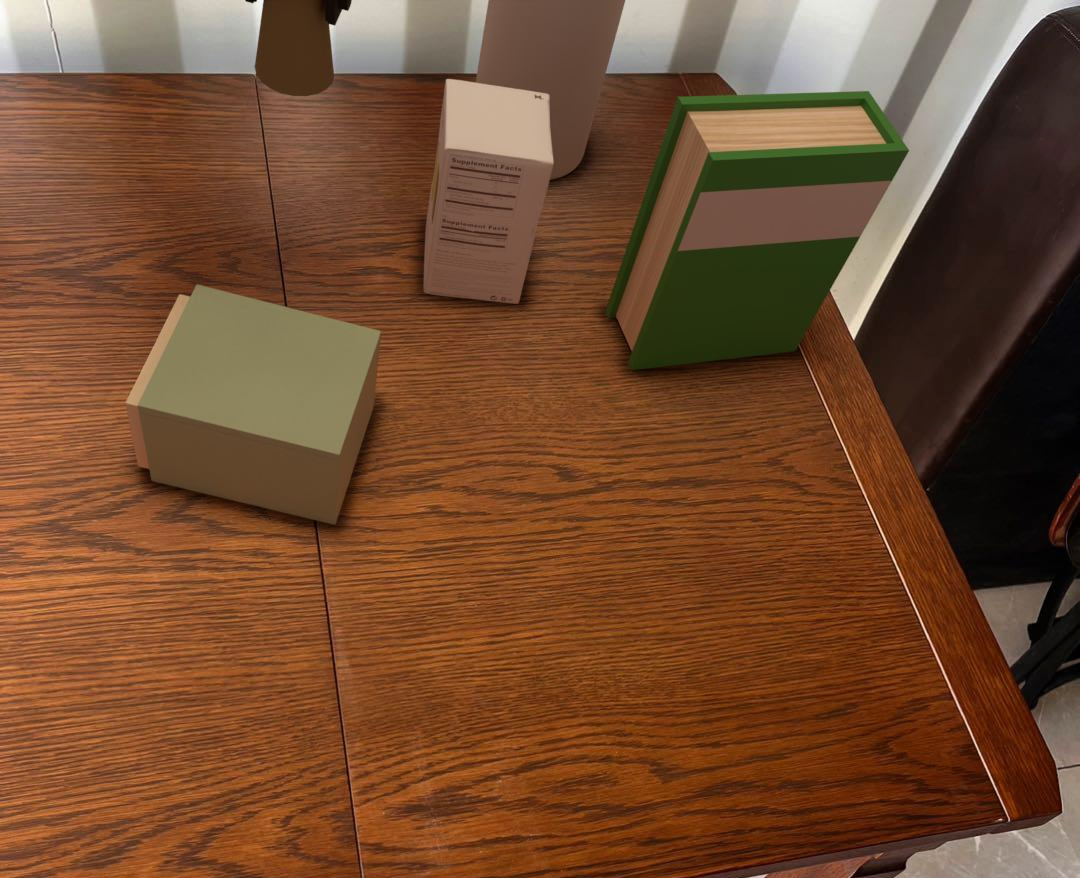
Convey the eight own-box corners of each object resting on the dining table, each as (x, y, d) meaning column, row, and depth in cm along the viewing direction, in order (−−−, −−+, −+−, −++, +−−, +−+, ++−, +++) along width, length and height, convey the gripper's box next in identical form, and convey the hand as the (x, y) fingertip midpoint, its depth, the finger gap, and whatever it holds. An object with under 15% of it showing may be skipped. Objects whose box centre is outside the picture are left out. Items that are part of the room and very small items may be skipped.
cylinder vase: (481, 185, 111) (524, -56, 90) (456, 106, 117) (491, -137, 96) (596, 184, 114) (663, -49, 94) (566, 107, 120) (622, -127, 100)
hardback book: (630, 372, 101) (713, 160, 81) (604, 313, 104) (677, 96, 84) (794, 353, 106) (909, 150, 87) (764, 298, 110) (868, 90, 90)
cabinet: (151, 483, 85) (137, 405, 77) (204, 366, 92) (196, 283, 84) (335, 527, 86) (339, 454, 78) (373, 408, 93) (381, 330, 85)
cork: (302, 107, 83) (305, -33, 73) (238, 70, 83) (233, -73, 74) (349, 72, 86) (358, -65, 77) (287, 37, 87) (288, -103, 78)
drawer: (122, 462, 84) (108, 398, 78) (172, 357, 91) (163, 289, 84) (308, 507, 85) (310, 448, 79) (345, 400, 92) (350, 336, 85)
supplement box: (424, 226, 106) (444, 73, 92) (517, 237, 108) (550, 89, 94) (422, 297, 101) (443, 147, 87) (520, 308, 102) (556, 162, 89)
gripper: (450, -265, 68) (419, 7, 83) (177, -346, 66) (195, -54, 81) (427, -213, 64) (398, 63, 79) (134, -299, 62) (162, 0, 77)
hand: (295, 1), depth 80 cm, fingers closed on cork, 5 cm apart
